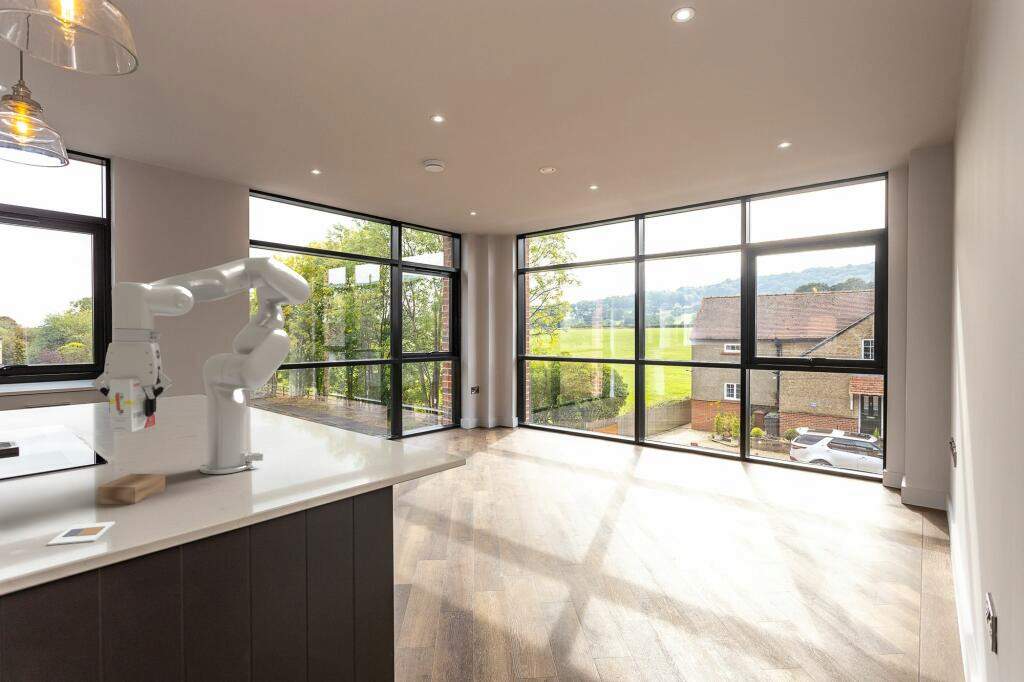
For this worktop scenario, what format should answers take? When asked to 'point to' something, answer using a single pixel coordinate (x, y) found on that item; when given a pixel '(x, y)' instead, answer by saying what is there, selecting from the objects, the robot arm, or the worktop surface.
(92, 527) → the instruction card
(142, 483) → the base block
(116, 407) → the ink box
